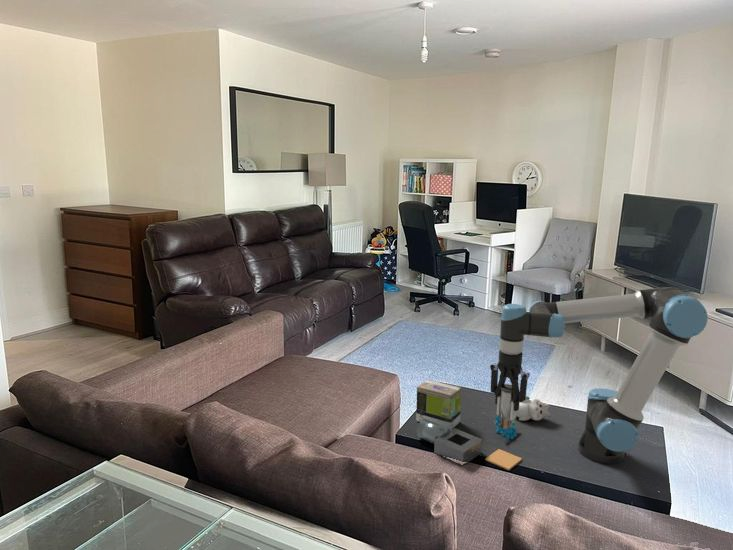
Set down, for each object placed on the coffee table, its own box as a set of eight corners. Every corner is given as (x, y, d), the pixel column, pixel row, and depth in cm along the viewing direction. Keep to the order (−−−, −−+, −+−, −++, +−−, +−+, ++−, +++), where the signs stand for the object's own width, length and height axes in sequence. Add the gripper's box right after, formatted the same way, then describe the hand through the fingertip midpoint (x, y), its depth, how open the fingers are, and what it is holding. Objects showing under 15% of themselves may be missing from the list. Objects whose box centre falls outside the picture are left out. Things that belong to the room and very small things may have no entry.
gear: (506, 440, 192) (493, 415, 197) (495, 446, 196) (482, 421, 200) (523, 435, 199) (510, 410, 204) (512, 441, 203) (500, 417, 207)
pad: (521, 460, 182) (522, 458, 182) (508, 470, 176) (508, 468, 176) (498, 450, 188) (498, 448, 188) (485, 460, 182) (485, 458, 182)
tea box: (460, 421, 210) (462, 386, 207) (449, 432, 201) (451, 395, 198) (427, 411, 218) (428, 378, 215) (415, 421, 210) (416, 386, 207)
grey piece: (481, 452, 187) (482, 434, 186) (462, 466, 178) (463, 447, 177) (431, 431, 202) (432, 414, 200) (412, 442, 193) (412, 424, 192)
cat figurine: (510, 395, 212) (549, 395, 208) (510, 398, 219) (548, 398, 215) (511, 420, 209) (551, 420, 205) (511, 421, 216) (550, 422, 212)
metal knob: (516, 425, 180) (519, 387, 177) (508, 431, 176) (511, 391, 173) (502, 420, 183) (505, 382, 180) (494, 425, 180) (497, 387, 177)
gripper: (541, 354, 171) (535, 421, 176) (493, 342, 183) (489, 404, 188) (530, 360, 166) (524, 428, 170) (481, 347, 177) (477, 411, 182)
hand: (506, 416), depth 179 cm, fingers closed on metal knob, 4 cm apart
